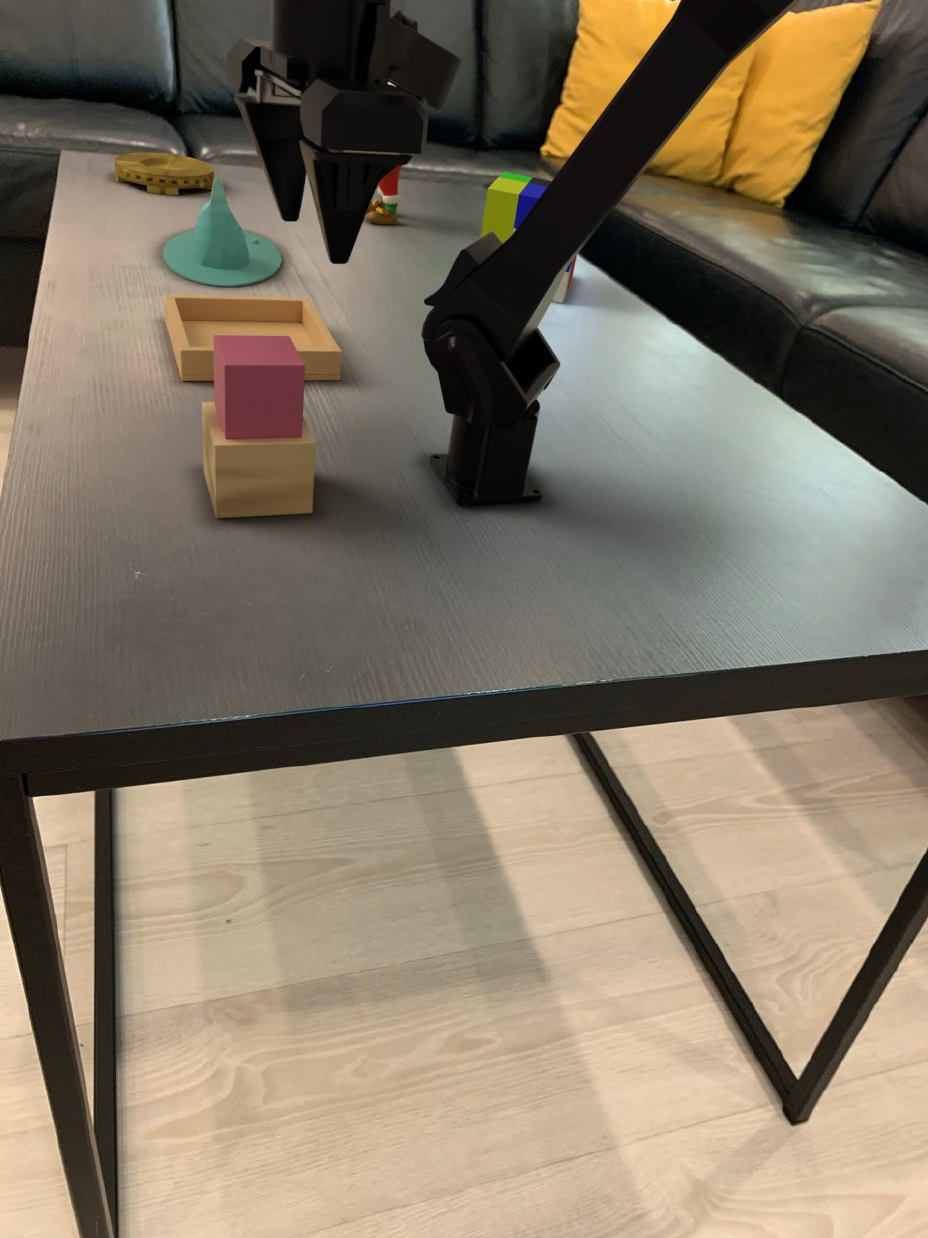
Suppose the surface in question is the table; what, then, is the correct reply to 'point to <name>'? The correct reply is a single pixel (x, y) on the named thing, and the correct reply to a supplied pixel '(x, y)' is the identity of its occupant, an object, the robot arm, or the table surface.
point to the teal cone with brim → (221, 249)
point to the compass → (164, 172)
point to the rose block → (258, 386)
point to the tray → (247, 331)
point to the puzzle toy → (517, 213)
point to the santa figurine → (386, 199)
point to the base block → (257, 471)
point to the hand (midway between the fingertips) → (313, 240)
